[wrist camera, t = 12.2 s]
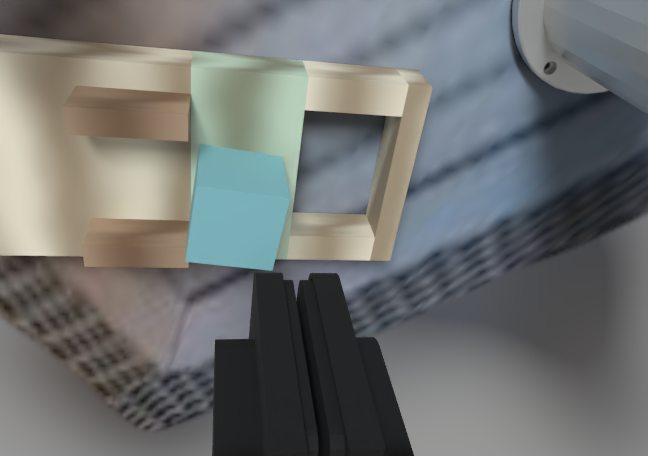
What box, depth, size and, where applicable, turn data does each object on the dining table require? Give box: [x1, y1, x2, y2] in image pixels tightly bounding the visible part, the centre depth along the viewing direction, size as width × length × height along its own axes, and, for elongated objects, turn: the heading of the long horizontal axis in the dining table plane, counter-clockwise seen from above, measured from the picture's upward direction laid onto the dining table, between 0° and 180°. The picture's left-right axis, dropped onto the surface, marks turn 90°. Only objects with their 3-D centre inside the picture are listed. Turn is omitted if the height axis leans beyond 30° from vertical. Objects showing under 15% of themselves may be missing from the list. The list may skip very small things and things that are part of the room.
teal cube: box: [185, 144, 290, 271], centre depth 32 cm, size 5×5×5 cm
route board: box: [0, 34, 433, 268], centre depth 33 cm, size 27×13×6 cm, turn 82°
